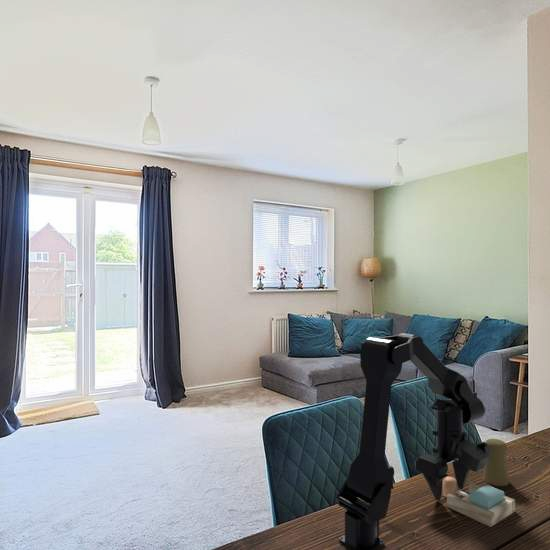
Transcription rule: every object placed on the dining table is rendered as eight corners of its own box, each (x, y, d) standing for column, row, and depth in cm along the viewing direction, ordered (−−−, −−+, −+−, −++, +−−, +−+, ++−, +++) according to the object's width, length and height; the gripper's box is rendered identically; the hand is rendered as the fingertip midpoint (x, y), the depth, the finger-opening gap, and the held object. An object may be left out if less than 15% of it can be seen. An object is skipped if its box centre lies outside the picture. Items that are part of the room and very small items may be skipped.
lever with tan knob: (487, 524, 94) (487, 501, 94) (435, 500, 104) (435, 479, 104) (504, 513, 98) (504, 491, 98) (452, 491, 108) (452, 471, 108)
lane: (490, 531, 92) (490, 514, 92) (446, 510, 100) (446, 495, 100) (514, 515, 98) (514, 499, 98) (471, 497, 106) (471, 482, 106)
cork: (483, 476, 117) (483, 434, 117) (510, 482, 114) (510, 438, 114) (481, 486, 112) (481, 442, 112) (508, 492, 108) (508, 446, 108)
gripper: (458, 447, 93) (458, 522, 93) (504, 428, 104) (504, 496, 104) (413, 432, 102) (413, 500, 102) (459, 416, 113) (459, 478, 113)
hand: (449, 494), depth 105 cm, fingers open, 9 cm apart
